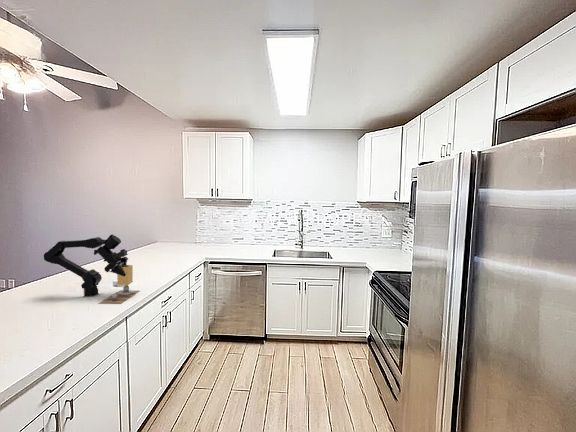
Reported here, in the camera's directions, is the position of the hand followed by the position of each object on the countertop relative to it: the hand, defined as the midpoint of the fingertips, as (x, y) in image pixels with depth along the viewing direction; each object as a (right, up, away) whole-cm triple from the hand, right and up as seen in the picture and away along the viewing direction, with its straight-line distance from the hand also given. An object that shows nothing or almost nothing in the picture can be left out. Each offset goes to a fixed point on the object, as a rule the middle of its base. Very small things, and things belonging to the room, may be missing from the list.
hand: (127, 274), depth 199 cm
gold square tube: (-1, -5, 0) cm, 5 cm away
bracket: (-17, -12, +31) cm, 37 cm away
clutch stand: (-3, -14, -2) cm, 14 cm away
